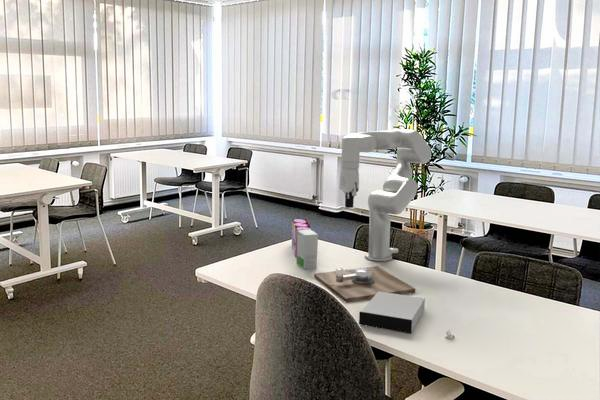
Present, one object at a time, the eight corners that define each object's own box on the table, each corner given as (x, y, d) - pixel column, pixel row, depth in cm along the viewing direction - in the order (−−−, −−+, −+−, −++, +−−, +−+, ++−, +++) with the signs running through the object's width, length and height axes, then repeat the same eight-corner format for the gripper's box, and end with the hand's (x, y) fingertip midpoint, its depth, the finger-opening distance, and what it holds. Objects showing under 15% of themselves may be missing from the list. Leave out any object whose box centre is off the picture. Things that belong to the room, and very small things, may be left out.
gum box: (290, 243, 289) (291, 217, 287) (306, 243, 290) (306, 217, 287) (295, 258, 266) (295, 229, 263) (312, 257, 267) (312, 229, 264)
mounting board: (377, 269, 250) (377, 263, 250) (415, 292, 223) (415, 286, 222) (314, 277, 239) (314, 271, 239) (345, 302, 212) (345, 295, 212)
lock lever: (363, 273, 236) (364, 261, 235) (376, 280, 228) (377, 267, 227) (330, 278, 229) (330, 266, 228) (342, 286, 221) (342, 273, 220)
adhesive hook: (447, 336, 186) (448, 327, 185) (455, 338, 184) (455, 329, 183) (443, 339, 183) (444, 330, 183) (451, 341, 182) (452, 332, 181)
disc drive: (358, 325, 193) (359, 311, 192) (377, 303, 213) (377, 290, 212) (410, 335, 186) (411, 320, 185) (424, 310, 206) (425, 297, 205)
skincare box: (296, 264, 256) (296, 230, 253) (309, 262, 259) (310, 229, 256) (304, 269, 249) (304, 234, 246) (317, 267, 252) (318, 233, 249)
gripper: (334, 163, 249) (333, 204, 253) (350, 168, 235) (349, 211, 239) (350, 162, 252) (349, 203, 255) (366, 167, 238) (365, 210, 242)
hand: (349, 207), depth 247 cm, fingers closed
